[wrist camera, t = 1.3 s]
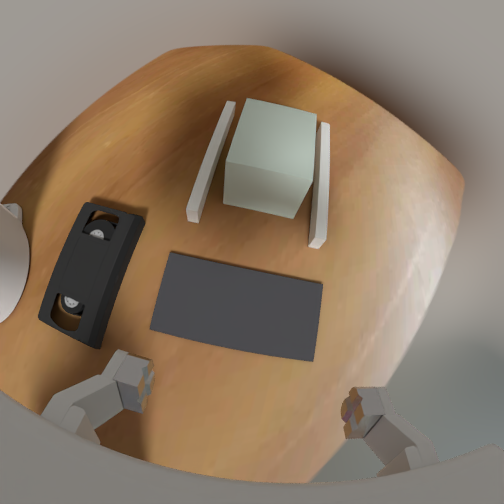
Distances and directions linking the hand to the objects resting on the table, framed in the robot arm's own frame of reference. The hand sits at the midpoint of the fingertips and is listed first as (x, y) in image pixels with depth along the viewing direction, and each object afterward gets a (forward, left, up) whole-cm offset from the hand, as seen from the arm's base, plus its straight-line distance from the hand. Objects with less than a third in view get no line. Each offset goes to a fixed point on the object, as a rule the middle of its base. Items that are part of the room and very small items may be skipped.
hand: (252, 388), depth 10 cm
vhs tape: (-17, +6, -16) cm, 24 cm away
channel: (-1, +17, -16) cm, 23 cm away
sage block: (-1, +22, -16) cm, 27 cm away
